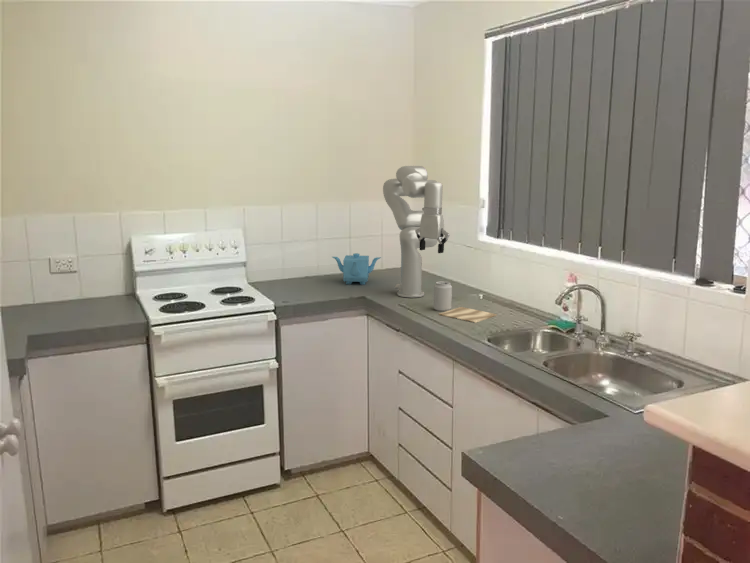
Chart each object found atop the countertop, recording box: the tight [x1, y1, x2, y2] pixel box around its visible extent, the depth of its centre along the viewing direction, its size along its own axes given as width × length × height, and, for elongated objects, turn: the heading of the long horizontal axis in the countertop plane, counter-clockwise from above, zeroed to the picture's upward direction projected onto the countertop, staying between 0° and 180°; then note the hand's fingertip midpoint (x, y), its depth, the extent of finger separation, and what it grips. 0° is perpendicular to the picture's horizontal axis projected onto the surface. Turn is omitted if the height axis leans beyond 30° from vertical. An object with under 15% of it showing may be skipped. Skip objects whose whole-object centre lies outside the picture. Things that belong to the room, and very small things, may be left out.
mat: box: [438, 306, 498, 324], centre depth 278 cm, size 18×16×1 cm
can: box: [433, 280, 453, 312], centre depth 285 cm, size 8×8×12 cm
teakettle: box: [332, 252, 382, 286], centre depth 338 cm, size 19×19×15 cm
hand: (431, 251), depth 287 cm, fingers open, 9 cm apart
